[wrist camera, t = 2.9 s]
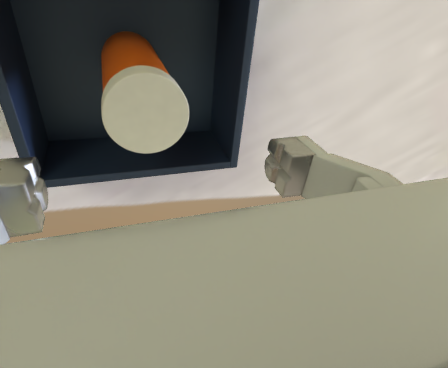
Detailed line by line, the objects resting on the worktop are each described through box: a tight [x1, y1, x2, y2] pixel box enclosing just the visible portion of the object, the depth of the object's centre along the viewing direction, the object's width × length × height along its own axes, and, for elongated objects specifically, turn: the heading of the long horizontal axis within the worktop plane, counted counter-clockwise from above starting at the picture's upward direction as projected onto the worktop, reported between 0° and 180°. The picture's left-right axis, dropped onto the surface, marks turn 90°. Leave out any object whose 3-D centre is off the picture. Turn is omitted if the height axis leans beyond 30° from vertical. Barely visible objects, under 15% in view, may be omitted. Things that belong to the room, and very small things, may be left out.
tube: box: [101, 31, 189, 154], centre depth 18 cm, size 4×4×10 cm
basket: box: [0, 0, 259, 188], centre depth 20 cm, size 14×13×6 cm
